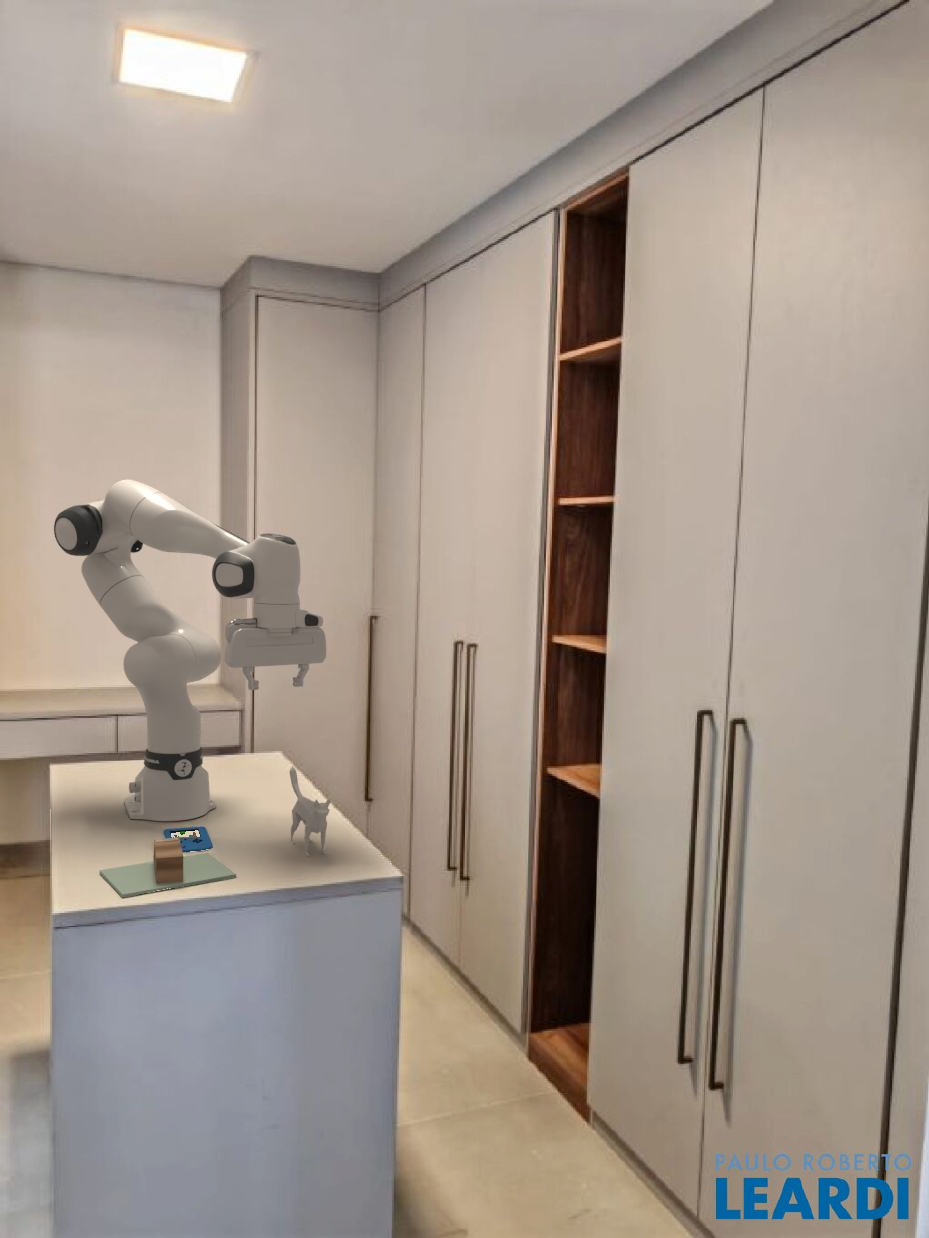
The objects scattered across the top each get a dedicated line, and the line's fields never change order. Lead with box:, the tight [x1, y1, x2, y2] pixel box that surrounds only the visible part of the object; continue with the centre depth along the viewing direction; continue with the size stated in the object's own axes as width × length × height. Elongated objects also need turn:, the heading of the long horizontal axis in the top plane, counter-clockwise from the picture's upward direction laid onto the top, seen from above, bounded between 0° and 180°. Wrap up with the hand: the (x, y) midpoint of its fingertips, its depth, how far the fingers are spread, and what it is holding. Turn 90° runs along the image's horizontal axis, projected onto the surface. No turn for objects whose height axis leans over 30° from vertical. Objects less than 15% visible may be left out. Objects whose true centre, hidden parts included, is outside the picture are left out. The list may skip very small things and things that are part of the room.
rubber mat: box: [99, 852, 237, 898], centre depth 180 cm, size 14×20×1 cm
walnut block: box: [153, 837, 184, 884], centre depth 180 cm, size 11×4×5 cm, turn 19°
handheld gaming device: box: [163, 825, 214, 853], centre depth 201 cm, size 8×1×15 cm
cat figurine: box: [289, 765, 332, 857], centre depth 198 cm, size 4×20×14 cm, turn 28°
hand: (275, 688), depth 198 cm, fingers open, 8 cm apart
